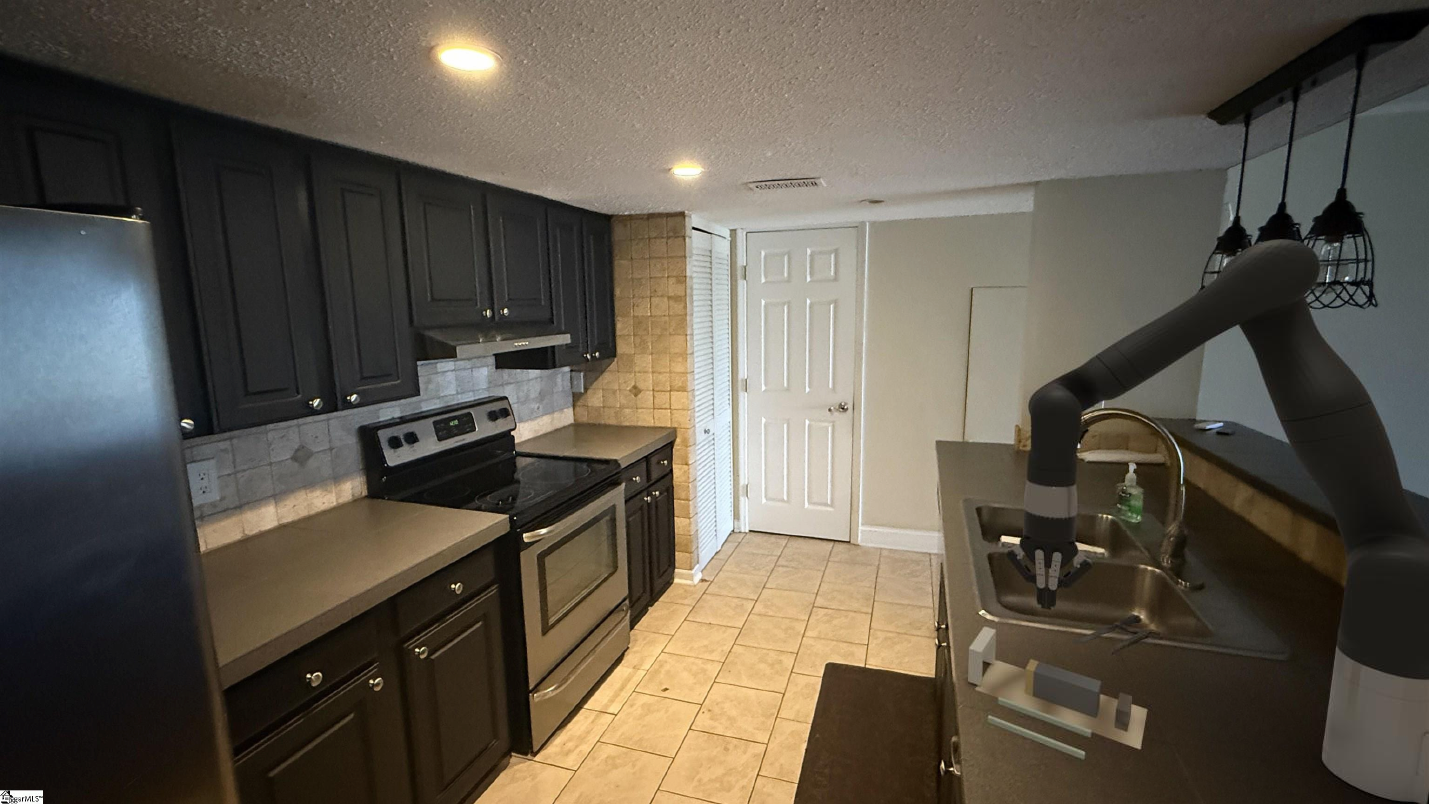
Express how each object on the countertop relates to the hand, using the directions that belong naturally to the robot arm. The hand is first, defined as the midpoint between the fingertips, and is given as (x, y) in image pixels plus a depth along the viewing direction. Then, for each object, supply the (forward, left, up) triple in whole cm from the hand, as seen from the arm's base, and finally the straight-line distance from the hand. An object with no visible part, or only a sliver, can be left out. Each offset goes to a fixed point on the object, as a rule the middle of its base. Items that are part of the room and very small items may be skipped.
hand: (1045, 607), depth 100 cm
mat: (-2, +12, -15) cm, 19 cm away
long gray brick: (-4, +3, -14) cm, 15 cm away
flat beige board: (-3, +3, -15) cm, 15 cm away
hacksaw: (-9, -23, -15) cm, 29 cm away
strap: (+9, +3, -15) cm, 17 cm away
